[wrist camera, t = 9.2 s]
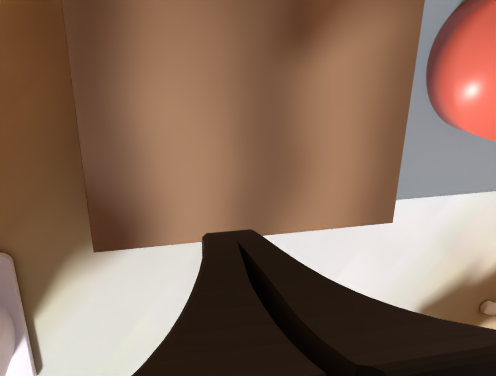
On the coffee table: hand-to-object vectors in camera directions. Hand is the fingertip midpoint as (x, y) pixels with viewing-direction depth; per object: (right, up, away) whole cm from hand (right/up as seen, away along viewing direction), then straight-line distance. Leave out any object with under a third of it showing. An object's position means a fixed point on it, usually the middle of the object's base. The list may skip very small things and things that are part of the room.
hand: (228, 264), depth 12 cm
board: (0, +8, +8) cm, 12 cm away
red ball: (+13, +8, +11) cm, 19 cm away
